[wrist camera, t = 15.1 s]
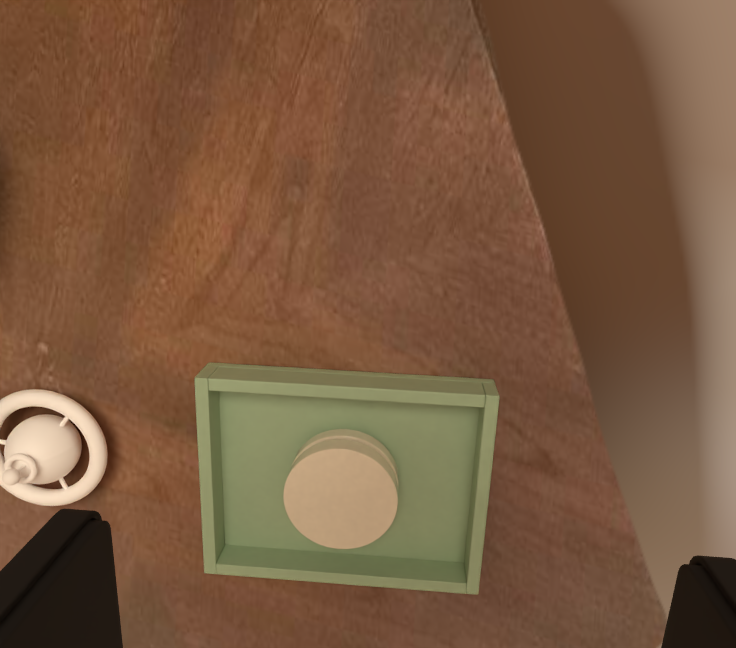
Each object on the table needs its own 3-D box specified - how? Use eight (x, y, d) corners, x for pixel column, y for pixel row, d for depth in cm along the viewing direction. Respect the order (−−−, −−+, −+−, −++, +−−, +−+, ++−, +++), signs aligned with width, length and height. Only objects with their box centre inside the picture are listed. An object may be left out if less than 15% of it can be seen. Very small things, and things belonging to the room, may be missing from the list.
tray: (493, 378, 36) (499, 396, 34) (474, 567, 40) (478, 595, 38) (208, 362, 37) (194, 377, 35) (216, 547, 41) (204, 573, 39)
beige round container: (401, 428, 37) (400, 452, 34) (396, 523, 39) (394, 553, 36) (292, 421, 38) (282, 444, 35) (292, 516, 40) (283, 545, 37)
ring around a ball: (-24, 401, 39) (35, 503, 41) (-91, 442, 34) (-19, 557, 36) (84, 362, 38) (139, 469, 40) (33, 397, 33) (100, 519, 35)
